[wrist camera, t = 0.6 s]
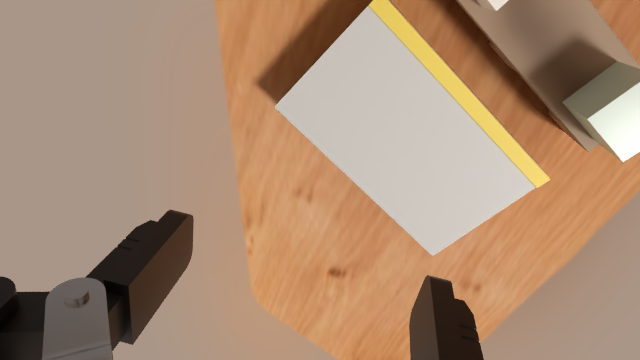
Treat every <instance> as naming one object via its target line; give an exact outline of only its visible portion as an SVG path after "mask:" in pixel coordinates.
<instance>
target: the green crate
mask: <svg viewBox="0 0 640 360" xmlns="http://www.w3.org/2000/svg"><path fill="white" fill-rule="evenodd" d="M563 104H564V105H565V106H566V107H567V108H568V110H569V111H570V112H571V113H572V114H573V115H574V117H575V118H576V119H577V120H578V121H579V123H580V124H581V125H582V126H583V127H584V129H585V130H586V131H587V132H588V133H589V134H590V136H591V137H592V138H593V139H594V140H595V141H596V142H597V143H599V144H600V145H601V146H603V147H604V148H605V149H606V150H608V151H609V152H610V153H612V154H613V155H614V156H616V157H617V158H618V159H620V160H621V161H622V162H624V161H626V160H627V159H629V158H630V157H632V156H634V155H635V154H637V153H638V152H640V69H639V68H636V67H633V66H630V65H627V64H624V63H621V62H619V61H617V62H616V63H614V64H613V65H611V66H610V67H609V68H607V69H606V70H605V71H603V72H602V73H601V74H599V75H598V76H597V77H595V78H594V79H593V80H591V81H590V82H589V83H587V84H586V85H584V86H583V87H582V88H580V89H579V90H578V91H576V92H575V93H574V94H572V95H571V96H570V97H568V98H567V99H566V100H564V101H563Z"/></svg>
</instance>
